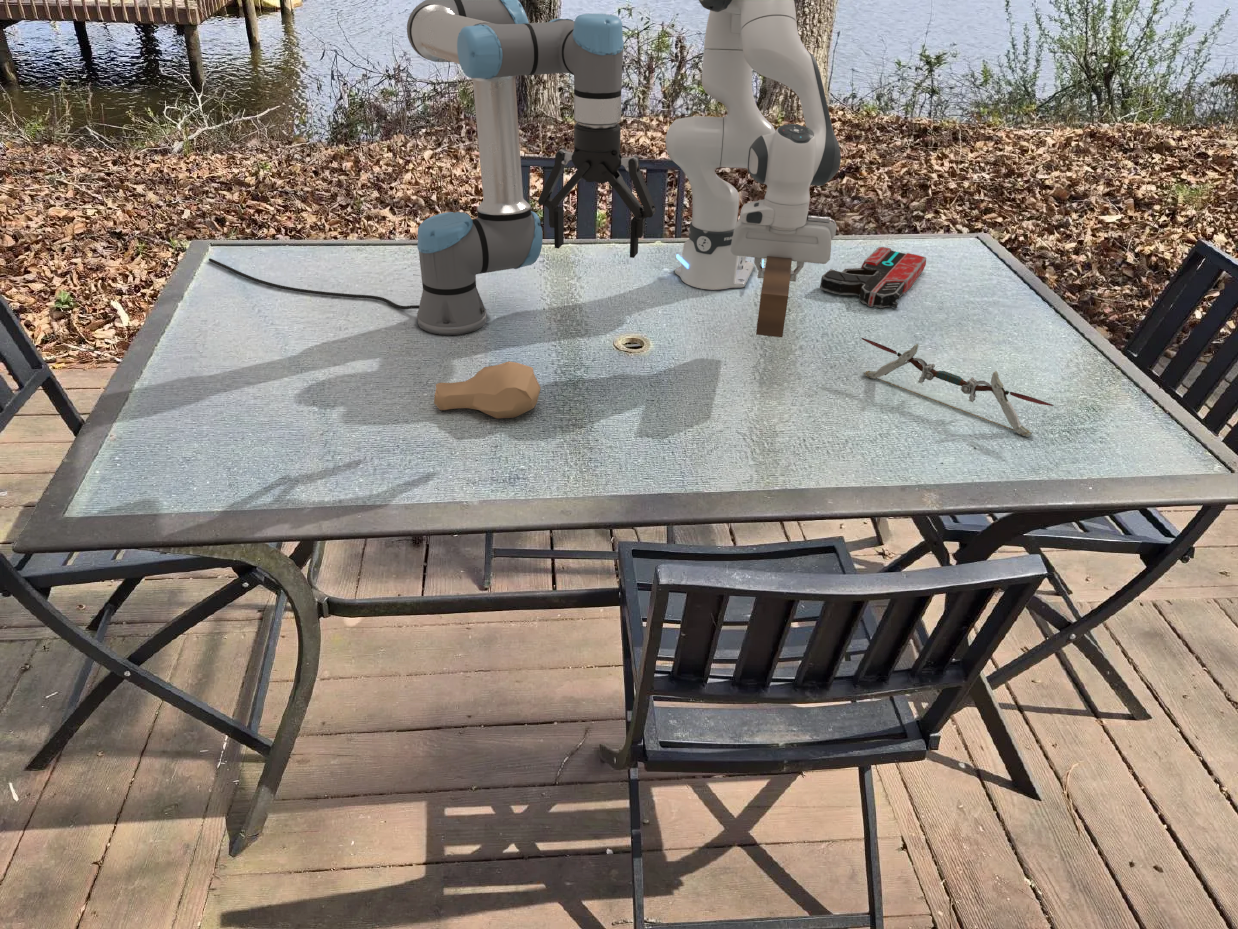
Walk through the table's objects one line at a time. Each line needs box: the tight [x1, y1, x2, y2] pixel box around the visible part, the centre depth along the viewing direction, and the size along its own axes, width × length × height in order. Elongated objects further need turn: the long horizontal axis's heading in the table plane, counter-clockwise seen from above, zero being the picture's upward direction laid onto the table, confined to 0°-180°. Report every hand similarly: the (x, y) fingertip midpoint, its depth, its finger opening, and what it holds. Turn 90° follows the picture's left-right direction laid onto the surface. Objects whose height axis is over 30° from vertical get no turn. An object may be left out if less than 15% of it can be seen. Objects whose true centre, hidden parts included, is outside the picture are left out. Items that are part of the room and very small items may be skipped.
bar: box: [755, 256, 793, 338], centre depth 174 cm, size 25×5×8 cm, turn 168°
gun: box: [819, 246, 927, 309], centre depth 221 cm, size 4×31×19 cm
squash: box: [433, 360, 542, 419], centre depth 163 cm, size 11×20×9 cm, turn 90°
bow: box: [861, 337, 1055, 437], centre depth 168 cm, size 39×2×10 cm, turn 47°
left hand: (596, 250), depth 153 cm, fingers open, 13 cm apart
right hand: (776, 278), depth 182 cm, fingers closed on bar, 5 cm apart
